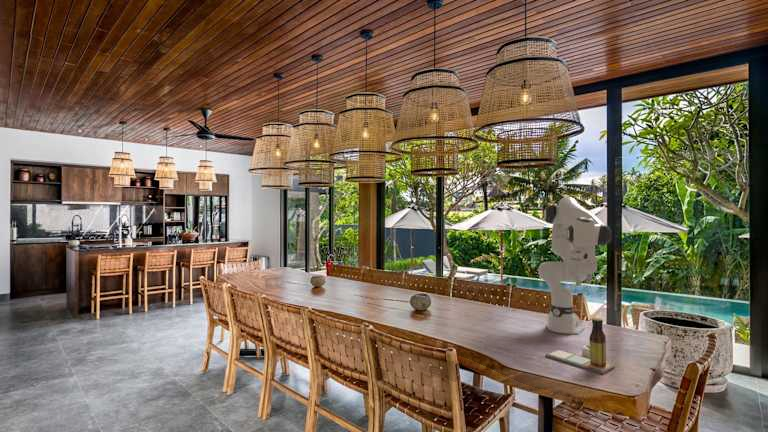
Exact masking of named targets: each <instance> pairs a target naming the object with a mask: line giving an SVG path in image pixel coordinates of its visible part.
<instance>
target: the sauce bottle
mask: <svg viewBox="0 0 768 432" xmlns="http://www.w3.org/2000/svg"><path fill="white" fill-rule="evenodd" d="M591 323H592V329H591V332H590V334H589V346H590V363H591V364H592V365H594V366H596V367H605V366H606V363H607V340H606V334H605V332H604V331H603V323H604V321H603V319H602V318H599V317H593V318H592V319H591Z"/></svg>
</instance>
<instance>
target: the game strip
mask: <svg viewBox="0 0 768 432" xmlns="http://www.w3.org/2000/svg"><path fill="white" fill-rule="evenodd" d="M544 356H545V357H546V358H548V359H551V360H555V361H556V362H557V361H558V362H561V363H564V364H567V365H570V366H573V367H577V368H580V369H582V370H586V371H589V372H591V373H592V372H593V373H595V372H596V374H598V373H599V374H598V375H605V374H607V373H609V372H610V371H612V370H614V369H615V368H616V365H613V364H610V363H607V362H606V366H605V367H596V366H594V365H592V364H591V363H590V358H587V357H583V356H582V355H579V354H575V353H573V352H569V351H566V350H563V349H560V348H559V349H558V348H557V349H556V350H553V351H551V352H548V353H545V355H544Z"/></svg>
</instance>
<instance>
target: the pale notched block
mask: <svg viewBox="0 0 768 432" xmlns="http://www.w3.org/2000/svg"><path fill="white" fill-rule="evenodd" d="M581 356H583V357H587V358H590V345H585V346H583V347H581Z"/></svg>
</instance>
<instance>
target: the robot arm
mask: <svg viewBox="0 0 768 432" xmlns="http://www.w3.org/2000/svg"><path fill="white" fill-rule="evenodd" d="M542 215H543V219H544V221H545V222H546V223H547V224H551V225H552V229H551V251H552V253H554V254H555V255H556V256H557V257H561V259H562V261H544V262H541V263H540V264H539V266H538V269H537V273H538V275H539V277H540V279H541V280H544V282H546V284H547V285H548V287H549V290H550V296H551V297H550V298H551V304H550V307H549V308H550V312H549V313H548V317H547V324H545V327H546V328H547V329H548V330H549V331H551V332H555V333H559V334H570V335H571V334H572V335H579V334H581V332H583V331H584V330H585V327H584V326H583V325H581V319H580V317H579V316H578V315H577V314H576V313H575V310H577V306H576V305H574V304H573V301H574V299H573V298H574V295H573V292H572V290H570V289H569V288H568V287H566V286H563V285H562V282H565V283H566V282H570V283H575V286H576V287H580V286H582V282H584V281H585V283H586V284H591V281H592V277H593V274H594V273H597V271H598V259H597V257H596V246H600V247H601V246H602V247H605V246H607V244H610V242H611V241H612V238H613V232H612V229H611V228H610V227H609V226H608V225H607V224H606V223H604V222H602V221H601V220H600V219H599V218H598V216H596V215H595V214H594V213H593V212H591V211H589V210H587V209H586V208H585V207H584V206H583V205H580V203H579V201H578V200H577V199H575V198H574V197H572V196H564V197H562V198H561V199H559V201H558V204H550V205H547V206H546V207H545V208H544V211H543V213H542Z"/></svg>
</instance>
